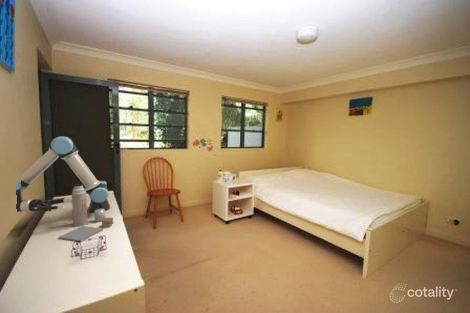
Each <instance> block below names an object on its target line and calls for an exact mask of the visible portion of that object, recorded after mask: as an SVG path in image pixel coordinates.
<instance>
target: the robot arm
mask: <svg viewBox="0 0 470 313" xmlns="http://www.w3.org/2000/svg"><path fill="white" fill-rule="evenodd" d="M78 153H79V149H78V148H77V146H76V145H75V144H74V141H73V140H72V139H71V138H70V137H69V136H57V137H55V138H53V139H52V140H51V142H50V146H49V147H48V151H46V152H45V153H44V154H43V155H41V157H39V158H38V160H36V161H35V162H34V163H33V164H32V165H31V166H30V167H29V168H28V169H27V170H26V171H24V172H23V173H22V174H21V175H22V177H21V183H20V182H17V183H16V195H17V204H16V209H17V212H16V213H23V212H26V213H29V212H39V211H41V212H52V211H53V210H54V211H55V210H64V209H65V205H64V204H70V203H71V204H72V198H65V197H62V198H54V199H46V200H43V201H42V200H41V199H40V198H38V199H37V198H36V199H34V198H33V199H23V197H22V196H23V195H22V192H24V191H25V190H26V189H27V188H28V187H29V186H30V185H31V184H32V183H33V182H34V181H35V180H36V179H37V178H38V177H39V176H40V175H42V174H43V173H44V172H45V171H46V170H47V169H48V168H49V167H50V166H51V165H53V163H54V162H56V160H58V159H61V160H64V161H65V162H66V164H67V165H68V166H69V168H70V169H71V170H72V171H73V173H74V174H75V176H76V177H77V178H78V179H79V180H80V182H81V184H83V187H85V188H84V189H85V191H86V194H87V195H88V196H89V198H90V199H89V200H90V203H89V206H88V207H87V212H89V213H95V210H96V209H104V210H105V211H108V210H109V209H111V205H110V203H109V200H108V197H109V190H108V186H107V185H108V184H107V181H105V180H98V179H97V178H96V176H95V175H94V174H93V172H92V171H91V170H90V167H88V165H87V164H86V163H85V162H84V160H83V158H82V157H81V156H80V154H78ZM23 190H24V191H23ZM62 203H63V204H62Z"/></svg>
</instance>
